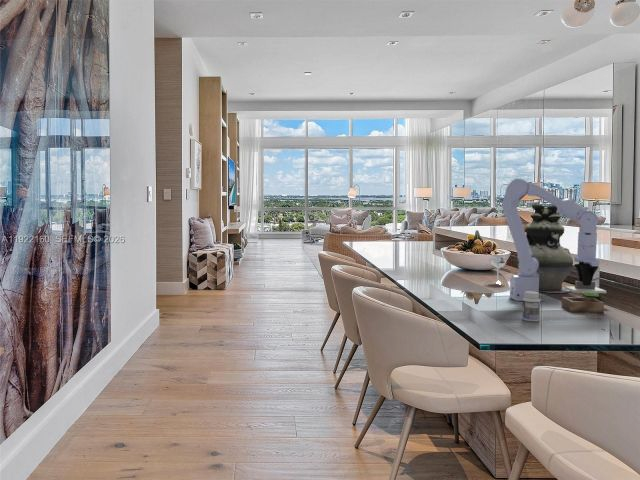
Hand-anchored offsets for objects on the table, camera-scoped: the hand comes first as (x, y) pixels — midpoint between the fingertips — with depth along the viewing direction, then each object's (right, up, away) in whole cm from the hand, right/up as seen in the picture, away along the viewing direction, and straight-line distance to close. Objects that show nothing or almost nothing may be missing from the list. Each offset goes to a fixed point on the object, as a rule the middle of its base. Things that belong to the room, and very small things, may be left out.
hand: (585, 284), depth 174 cm
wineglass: (-13, -4, +49) cm, 50 cm away
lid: (0, -2, 0) cm, 2 cm away
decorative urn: (-1, -5, +32) cm, 32 cm away
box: (-6, -8, -9) cm, 13 cm away
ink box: (+13, -6, +20) cm, 25 cm away
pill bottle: (-29, -9, -24) cm, 39 cm away
